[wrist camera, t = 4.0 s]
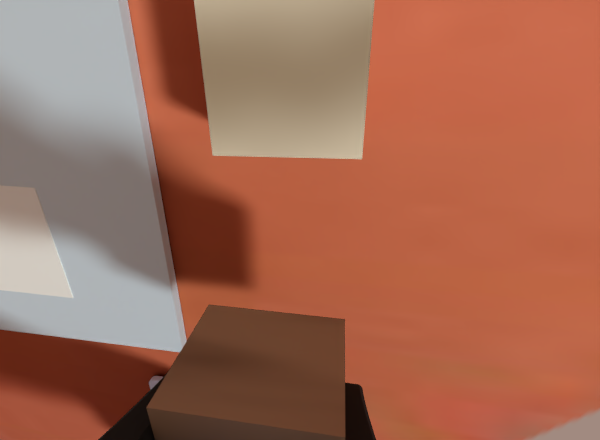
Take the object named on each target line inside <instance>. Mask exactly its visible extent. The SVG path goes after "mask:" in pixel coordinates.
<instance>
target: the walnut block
mask: <svg viewBox="0 0 600 440" xmlns="http://www.w3.org/2000/svg"><path fill="white" fill-rule="evenodd" d="M146 408H147V412H148V416H149V419H150V423H151V427H152V430H153V434H154V438H155V440H345V319H337V318H328V317H319V316H310V315H300V314H291V313H282V312H273V311H264V310H254V309H245V308H236V307H227V306H217V305H208V307H207V309H206V310H205V312H204V314H203V315H202V317H201V319H200V320H199V322H198V324H197V325H196V327H195V328H194V330H193V332H192V333H191V335H190V337H189V338H188V340H187V342H186V343H185V345H184V347H183V348H182V350H181V351H180V353H179V355H178V356H177V358H176V360H175V361H174V363H173V365H172V366H171V368H170V370H169V371H168V373H167V374H166V376H165V378H164V379H163V381H162V383H161V384H160V386H159V388H158V389H157V391H156V393H155V394H154V396H153V398H152V399H151V401H150V402H149V404H148V406H147V407H146Z"/></svg>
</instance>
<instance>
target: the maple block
mask: <svg viewBox="0 0 600 440" xmlns="http://www.w3.org/2000/svg"><path fill="white" fill-rule="evenodd" d="M194 5H195V13H196V22H197V30H198V38H199V47H200V55H201V63H202V71H203V80H204V88H205V96H206V104H207V113H208V121H209V129H210V138H211V146H212V154H213V156H253V157H295V158H337V159H362V153H363V140H364V127H365V115H366V102H367V89H368V76H369V63H370V50H371V38H372V25H373V12H374V0H194Z"/></svg>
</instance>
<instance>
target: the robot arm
mask: <svg viewBox="0 0 600 440" xmlns="http://www.w3.org/2000/svg"><path fill="white" fill-rule="evenodd" d="M165 376H166V375H165ZM165 376H164V377H162V376H153V377H152V378H151V380H150V381H149V386H150V391H149V392H148V393H147V394H146V395H145V396H144V397H143V398H142V399H141V400H140V401H139V402H138V403H137V404H136V405H135V406H134V407H133V408H132V409H131V410H130V411H129V412H128V413H127V414H126V415H124V416H123V417H122V418H121V419H120V420H119V421H118V422H117V423H116V424H115V425H114V426H113V427H112V428H111V429H109V430H108V431H107V432H106V433H105V434H104V435H103V436H102V437H101V438H100V439H98V440H155V438H154V434H153V430H152V427H151V423H150V419H149V416H148V412H147V408H146V407H147V406H148V404H149V402H150V401H151V399H152V398H153V396H154V394H155V393H156V391H157V389H158V388H159V386H160V384H161V383H162V381H163V379H164V378H165ZM345 440H376V438H375V435H374V432H373V429H372V426H371V422H370V419H369V415H368V412H367V408H366V404H365V400H364V396H363V390H362V387H361V386H360V385H358V384H350V383H345Z"/></svg>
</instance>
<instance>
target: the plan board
mask: <svg viewBox="0 0 600 440" xmlns="http://www.w3.org/2000/svg"><path fill="white" fill-rule="evenodd" d="M0 329H1V330H9V331H17V332H24V333H32V334H40V335H48V336H56V337H64V338H72V339H80V340H87V341H95V342H103V343H111V344H119V345H127V346H135V347H143V348H150V349H158V350H166V351H174V352H180V351H181V350H182V348H183V347H184V345H185V343H186V342H187V340H186V334H185V329H184V323H183V317H182V311H181V306H180V300H179V294H178V288H177V283H176V277H175V271H174V265H173V260H172V254H171V248H170V242H169V237H168V231H167V225H166V219H165V214H164V208H163V202H162V196H161V191H160V185H159V179H158V173H157V168H156V162H155V156H154V150H153V145H152V139H151V133H150V127H149V122H148V116H147V110H146V104H145V99H144V93H143V87H142V81H141V76H140V70H139V64H138V58H137V53H136V47H135V41H134V35H133V30H132V24H131V18H130V12H129V6H128V1H127V0H0Z"/></svg>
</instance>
